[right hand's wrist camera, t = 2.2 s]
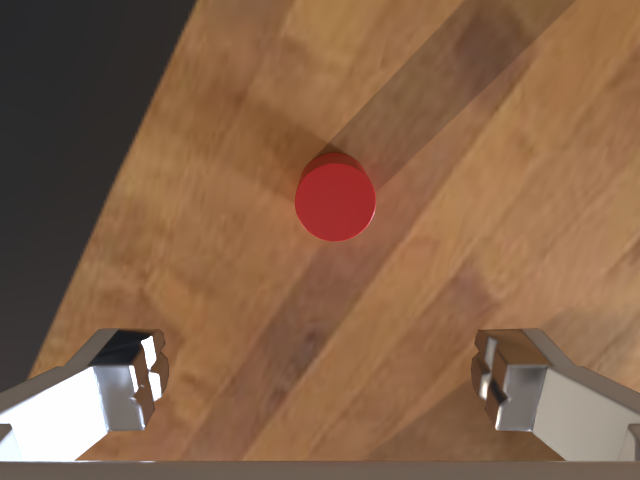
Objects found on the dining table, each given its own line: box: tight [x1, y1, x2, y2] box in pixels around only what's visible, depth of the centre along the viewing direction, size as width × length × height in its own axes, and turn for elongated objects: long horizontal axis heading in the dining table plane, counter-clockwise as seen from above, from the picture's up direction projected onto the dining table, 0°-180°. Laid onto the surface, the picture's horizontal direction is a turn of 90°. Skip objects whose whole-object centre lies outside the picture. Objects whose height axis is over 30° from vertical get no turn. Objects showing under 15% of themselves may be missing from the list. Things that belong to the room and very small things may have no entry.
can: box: [295, 152, 376, 241], centre depth 27 cm, size 5×5×5 cm
